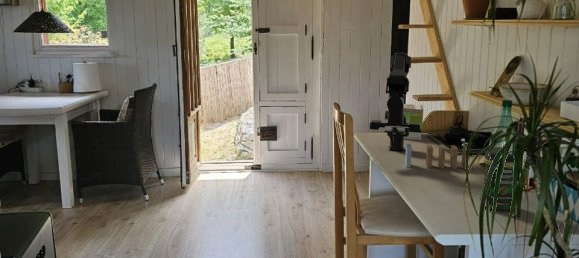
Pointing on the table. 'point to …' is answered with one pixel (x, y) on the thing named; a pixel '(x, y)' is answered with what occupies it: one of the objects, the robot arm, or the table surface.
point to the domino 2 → (429, 156)
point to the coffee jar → (505, 183)
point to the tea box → (414, 119)
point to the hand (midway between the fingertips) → (393, 147)
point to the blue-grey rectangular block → (408, 155)
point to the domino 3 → (441, 156)
